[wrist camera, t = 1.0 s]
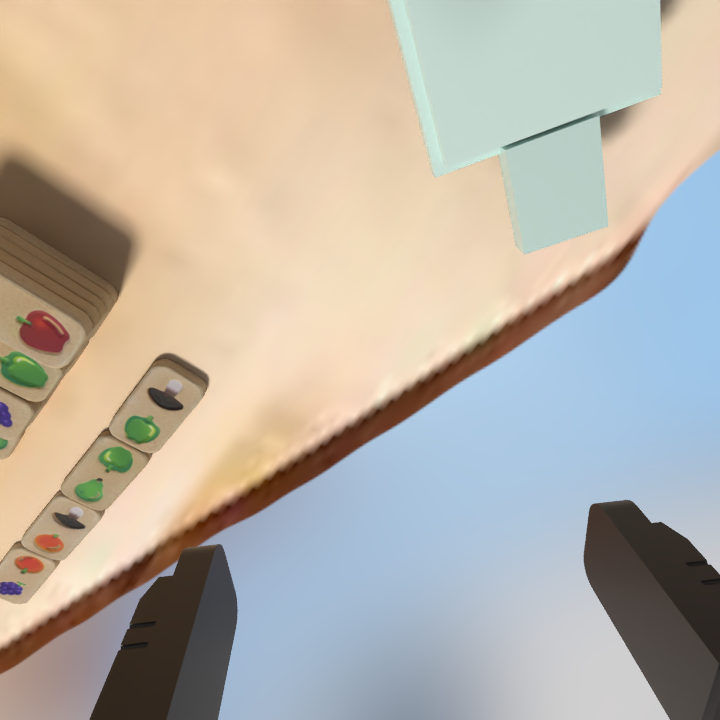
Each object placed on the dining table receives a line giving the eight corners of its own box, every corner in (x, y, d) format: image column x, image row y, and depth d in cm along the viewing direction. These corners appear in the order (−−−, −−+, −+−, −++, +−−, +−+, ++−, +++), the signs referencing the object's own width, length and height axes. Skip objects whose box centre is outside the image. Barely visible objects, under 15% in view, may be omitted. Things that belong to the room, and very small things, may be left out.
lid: (335, -201, 18) (335, -230, 16) (633, -347, 16) (669, -396, 15) (454, 262, 27) (463, 275, 25) (651, 194, 25) (674, 203, 24)
